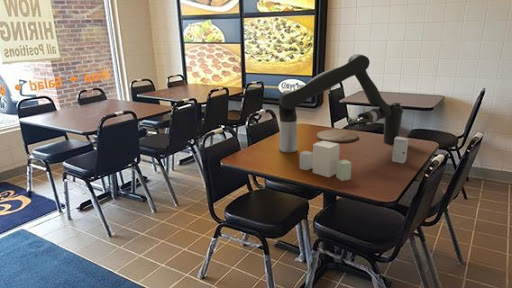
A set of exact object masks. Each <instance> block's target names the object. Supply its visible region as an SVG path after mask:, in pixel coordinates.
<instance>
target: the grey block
mask: <svg viewBox="0 0 512 288" xmlns="http://www.w3.org/2000/svg"><path fill="white" fill-rule="evenodd" d="M299 169H300V170H303V171H306V170H308V171H310V170H313V151H312V152H311V151H309V150H303V151H301V152H299ZM309 169H310V170H309Z"/></svg>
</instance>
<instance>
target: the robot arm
mask: <svg viewBox="0 0 512 288" xmlns="http://www.w3.org/2000/svg"><path fill="white" fill-rule="evenodd" d="M369 66H370V59H369V57H368V56H366V55H365V54H364V55H363V54H357V53H356V54H353V55H351V56H350V57H349V58H348V60H347V63H345V64H343V65H341V66H338V67H335V68H332V69H329V70H328V69H327V70H326V71H323V72H321V73H319V74H317V75H316V76H314V77H313V78H311V79H310V80H309V81H308V82H307V83H306V84H304V85H303V86H301V87H300V88H297V89H295V90H292V91H291V90H284V91H282V92H281V93H280V94H279V96H278V111H279V112H278V114H279V133H278V143H279V144H278V145H279V146H278V147H279V148H278V149H279V150H280V151H281V152H282V153H294V152H296V151H297V150H298V148H297V147H298V145H297V142H298V139H297V137H298V134H297V133H298V131H297V130H298V129H297V127H298V126H297V125H298V124H297V123H298V122H297V121H298V117H297V111H296V108H297V107H298V106H300V105H301V104H303V103H304V102H305V101H308V99H311V98H313V97H315V96H318V95H320V94H321V93H323V92H325V91H328V90H330V89H332V88H334V87H335V86H337V85H338V84H341V83H342V82H344V81H345V80H347V79H349V78H351V77H355V78H356V80H357V81H358V83H359V84H360V86H361V88H362V90H363V92H364V94H365V97H366V100H367V101H368V103H369V104H370V105H371V106H372V108H371V109H369V110H366V111H362V112H360V113H359V114H358V115H357V116H356V117H353V118H352V117H348V118H347V121H348V122H347V123H348V127H349V128H353V127H362V128H364V127H367V126H368V127H369V126H371V125H373V124H374V123H376V122H379V120H382V119H384V118H388V117H390V116H391V108H390V107H389V105H388V104H389V103H387V102H386V101H385V100H384V98H383V97H382V96H381V93H380V92H379V88H378V87H377V86H376V84H375V83H374V81H373V80H372V78H371V77H370V76H369V73H368V72H367V69H368V68H369ZM373 106H375V107H373Z"/></svg>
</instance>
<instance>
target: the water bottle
mask: <svg viewBox="0 0 512 288" xmlns="http://www.w3.org/2000/svg"><path fill="white" fill-rule="evenodd" d="M387 104H388V105H389V107H390V108H391V116H390V117H388V118H383V119H384V120H383V143H384V144H387V145H394V139H395V138H396V137H401V136H400V135H401V126H402V121H403V120H402V117H403V114H404V109H403V107H402V106H401V105H402V103H399V102H393V103H387Z"/></svg>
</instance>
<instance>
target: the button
mask: <svg viewBox="0 0 512 288" xmlns="http://www.w3.org/2000/svg"><path fill="white" fill-rule="evenodd" d="M341 149H342V145H340V144H339V159H340V158H341V153H342V151H341Z"/></svg>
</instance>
